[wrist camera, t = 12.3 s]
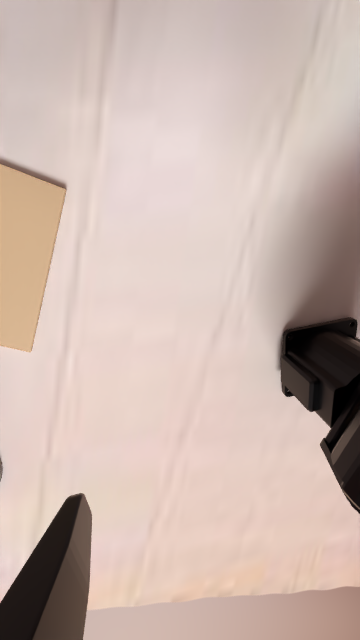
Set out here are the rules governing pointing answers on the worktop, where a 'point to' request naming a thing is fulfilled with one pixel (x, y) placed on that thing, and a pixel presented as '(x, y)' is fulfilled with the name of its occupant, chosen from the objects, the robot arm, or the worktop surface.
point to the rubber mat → (0, 470)
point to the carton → (25, 252)
